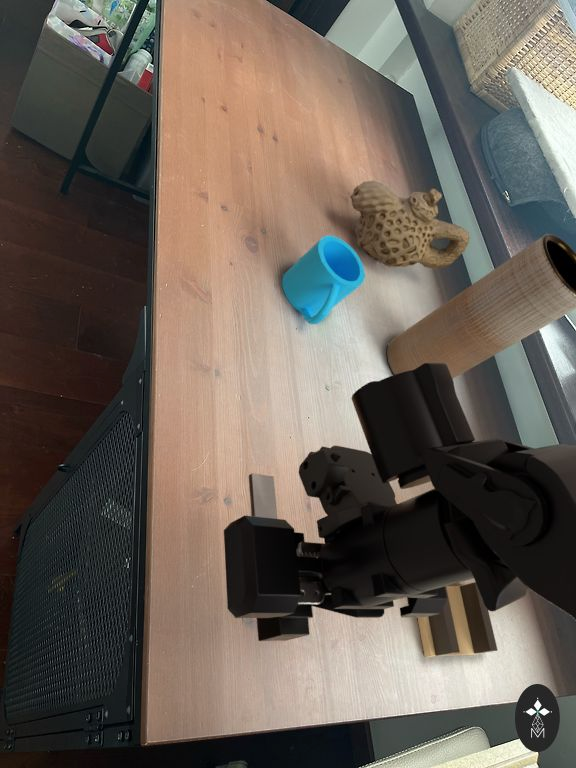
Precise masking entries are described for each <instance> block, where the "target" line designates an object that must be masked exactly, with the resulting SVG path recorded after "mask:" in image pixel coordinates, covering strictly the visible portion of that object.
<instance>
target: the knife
mask: <svg viewBox="0 0 576 768" xmlns="http://www.w3.org/2000/svg"><path fill="white" fill-rule="evenodd" d="M248 484H249V485H248V487H249V500H250V516H255V517H264V518H274V519H278V509H277V498H276V487H275V477H274V476H273V475H266V474H260V473H253V472H252V473H250V474H248ZM309 624H310V623H309V618H284V617H272V618H256V625H257V627H256V628H257V629H256V630H257V641H258V642H283V641H285V642H286V641H289V640H290V641H291V640H294V639H298V638H301V637H306V636H310V633H311V632H310V627H309V626H310V625H309Z"/></svg>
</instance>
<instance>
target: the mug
mask: <svg viewBox="0 0 576 768" xmlns="http://www.w3.org/2000/svg"><path fill="white" fill-rule="evenodd" d="M365 278H366V273H365V268H364V265H363V262H362V260H361V259H360V257H359V255H358V253H357V252H356V251H355V250H354V248H353V247H352V246H351V245H350V244H348V243H347V242H346V241H345V240H343V239H341V238H339V237H337V236H335V235H325V236H322V237H321V238H320V239H319V240H318V241H317V242H316V243H315V244H314V245H313V246H312V247H311V248H310V249H308V250H307V252H306V253H304V255H302V256H301V257H300V258H299V259H298V260H297V261H296V262H295V263H294V264H293V265H292V266H291V267H290V268H289V269H287V271H285V272H284V273H283V275H282V278H281V284H282V285H281V287H282V290H283V293H284V296H285V298H286V299H287V301H288V302H289V303H290V305H291V306H292V307H293V308H294V309H295V311H297V312H299V313H300V314H302V316H303V319H304V320H305V322H307V323H308V324H310V325H318V324H319V323H321V322H323V321H324V320H325V319H326V317H328V315H329V314H330V312H331V311H332V309H333V308H334V307H336V306H337V305H338V304H339V303H340V302H342V301H343V300H344V299H346V298H347V297H349V295H350V294H352V293H353V292H354V291H356V290H357V289H358V288H359V287H360V286H361V285H362V284H363V283H364V281H365Z"/></svg>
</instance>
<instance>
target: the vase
mask: <svg viewBox="0 0 576 768" xmlns="http://www.w3.org/2000/svg"><path fill="white" fill-rule="evenodd" d="M575 310H576V252H575V251H574V249H573V248H572V247H571V246H570V245H569V244H568V243H567V242H566V241H564V240H563V239H562V238H560V237H559V236H558V235H555V234H552V233H545V234H544V235H543V236H541V237H539V238H538V239H537V240H535V241H534V242H532V243H531V244H529V245H528V246H526V247H525V248H523V249H522V250H520V251H519V252H518V253H516V254H515V255H513V256H512V257H510V258H509V259H507V260H506V261H504V262H502V264H500V265H499V266H497V267H496V268H494V269H493V270H491V271H489V273H487V274H486V275H484V276H483V277H481V278H480V279H478V280H477V281H476V282H474V283H472V284H471V285H470V286H468V287H467V288H465V289H464V290H462V291H460V292H459V293H458V294H456V295H454V297H452V298H450V299H449V300H448V301H446V302H445V303H443V304H442V305H441V306H439V307H437V308H436V309H435V310H433V311H432V312H430V313H429V314H427V315H426V316H424V317H423V318H421V319H420V320H419V321H417V322H416V323H414V324H413V325H411V326H410V327H408V328H407V329H405V330H404V331H402V332H401V333H400V334H398V335H397V336H395V337H394V338H393V339H391V340H390V342H389V343H388V345H387V350H386V358H387V362H388V365H389V366H388V367H389V369H390V370H391V372H392V375H396V374H399V373H402V372H406V371H410V370H414V369H416V368H418V367H419V366H421V365H422V364H424V363H445V364H447V367H448V369H449V371H450V374H451V376H452V379H455V378H457V377H459V376H461V375H462V374H464V373H466V372H467V371H469V370H471V369H472V368H474V367H476V366H478V365H479V364H482V363H483V362H485V361H487V360H489V359H490V358H492V357H494V356H496V355H497V354H499V353H501V352H503V351H504V350H506V349H508V348H509V347H511V346H513V345H514V344H517V343H518V342H521V340H523V339H525V338H527V337H529V336H530V335H532V334H535V333H536V332H538V331H539V330H541V329H543V328H545V327H546V326H548V325H550V324H552V323H554V322H555V321H556V320H557V321H558V320H559V319H560V318H563V317H564V316H566V315H568V314H569V313H570V312H573V311H575Z"/></svg>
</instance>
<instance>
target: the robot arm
mask: <svg viewBox="0 0 576 768" xmlns="http://www.w3.org/2000/svg"><path fill="white" fill-rule="evenodd" d="M453 379H454V378H453ZM453 379H452V376H451V374H450V371H449V369H448V367H447V364H445V363H424V364H422V365H421V366H419V367H418V368H416V369H414V370H410V371H406V372H402V373H399V374H396V375H394V374H392V375H390V376H388V377H385V378H382V379H380V380H374V381H369V382H367V383H366V384H364V385H362V386H360V388H358V389H357V390H355V392H354V393H353V394H352V395H351V397H350V398H351V401H352V404H353V407H354V410H355V412H356V416H357V419H358V421H359V424H360V426H361V429H362V432H363V434H364V438H365V440H366V443H367V446H368V449H369V451H370V452H369V451H365V450H362V449H355V448H350V447H345V446H341V445H332V446H331V447H328V446H323V445H322V446H321V447H320V448H319V449H318V450H317V451H309V453H307V456H306V457H305V458H304V460H303V461H302V462H301V463H300V465H299V467H298V476H299V478H300V481H301V484H302V486H303V489H304V491H305V494H306V495H307V497H310V498H315V499H316V498H317V499H319V502H320V504H321V507H322V509H323V511H324V513H325V514H326V516H323V517H321V518H319V519H317V520H316V523H317V534H318V538H320V539H323V540H324V541H323V542H324V543H323V542H312V541H311V542H310V541H305V532H296V531H295V528H294V527H293V526H292V525H291V524H290V523H289V522H288V521H287V520H286V519H281V518H277V519H274V518H264V517H255V516H251V515H243V516H241V517H239V518H237V519H235V520H233V521H232V522H230V523H229V524H228V525H226V527H225V529H224V530H223V542H224V544H223V545H224V565H225V566H224V567H225V584H226V585H225V587H226V602H227V603H226V604H227V610H228V612H230V613H231V615H232V616H233V617H234V618H235V619H257V618H272V617H284V618H308V619H311V618H314V613H313V607H314V608H317V609H322V610H326V611H329V612H334V613H337V614H339V615H340V614H341V615H344V616H349V617H353V618H357V619H359V618H360V619H364V618H365V619H366V618H368V619H370V618H372V619H374V618H375V619H376V618H379V619H380V618H382V617H383V616H384V614H385V610H386V609H390V608H393V607H395V603H394V601H397V600H400V599H404V598H406V599H407V600H406V601H407V604H408V605H405V606H401V607H399V612H400V614H399V615H400V618H402V619H403V618H408V619H409V618H412V619H413V618H414V619H415V618H416V619H418V618H424V617H428V616H432V615H437V614H441V612H442V610H443V608H444V606H445V603H446V601H447V595H446V590H445V586H452V585H455V584H459V583H463V582H466V581H469V580H473V579H474V582H476V585H477V587H478V590H479V592H480V595H481V598H482V600H483V603H484V605H485V607H486V609H487V610H488V611H489V612H496V611H498V610H500V609H503V608H504V607H506V606H508V605H511V604H512V603H514V602H516V601H519V600H521V599H523V598H524V597H526V595H527V591H528V590H530V591H531V592H533V593H534V594H535V595H537V596H539V597H540V598H541V599H543V600H545V601H546V602H548V603H550V604H551V605H552V606H554V607H556V608H558V609H559V610H561V611H562V612H563V613H565V614H566V615H568V616H569V617H571V619H573V620H574V621H575V622H576V445H575V444H573V445H572V444H564V443H558V444H552V445H546V446H542V447H530V446H527V445H525V444H520V443H517V442H514V441H510V440H508V439H505V438H504V439H503V438H500V437H498V438H497V437H496V438H490V439H484V440H476V438H475V436H474V434H473V430H472V428H471V426H470V424H469V421H468V419H467V417H466V414H465V412H464V410H463V407H462V405H461V402H460V400H459V398H458V395H457V392H456V388H455V383H454V380H453ZM396 480H397V483H398V486H399V488H400V490H405V489H411V488H414V487H417V486H418V487H419V486H421V485H424V484H427V483H430V482H431V485H432V487H433V488H432V489H430V490H428V491H425V492H423V493H421V494H418V495H415V496H413V497H410V498H408V499H406V500H404V501H401V502H399V503H398V502H397V501H396V493H395V491H394V489H393V486H392V485H391V483H390V482H393V481H396Z"/></svg>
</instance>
